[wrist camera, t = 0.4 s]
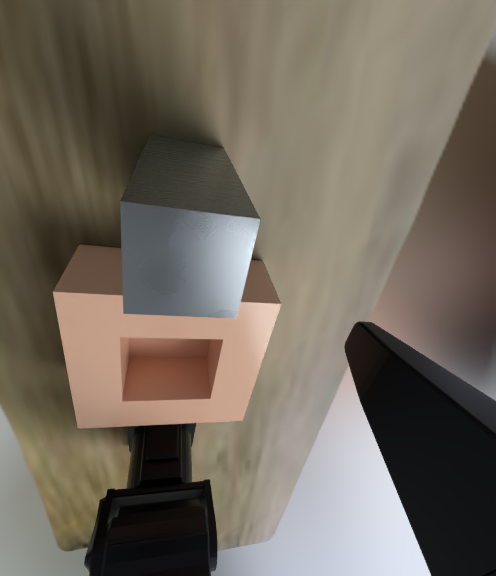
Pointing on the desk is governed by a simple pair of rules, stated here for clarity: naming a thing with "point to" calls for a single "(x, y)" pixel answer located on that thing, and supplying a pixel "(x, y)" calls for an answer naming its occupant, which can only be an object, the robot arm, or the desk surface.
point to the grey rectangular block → (185, 232)
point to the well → (157, 349)
